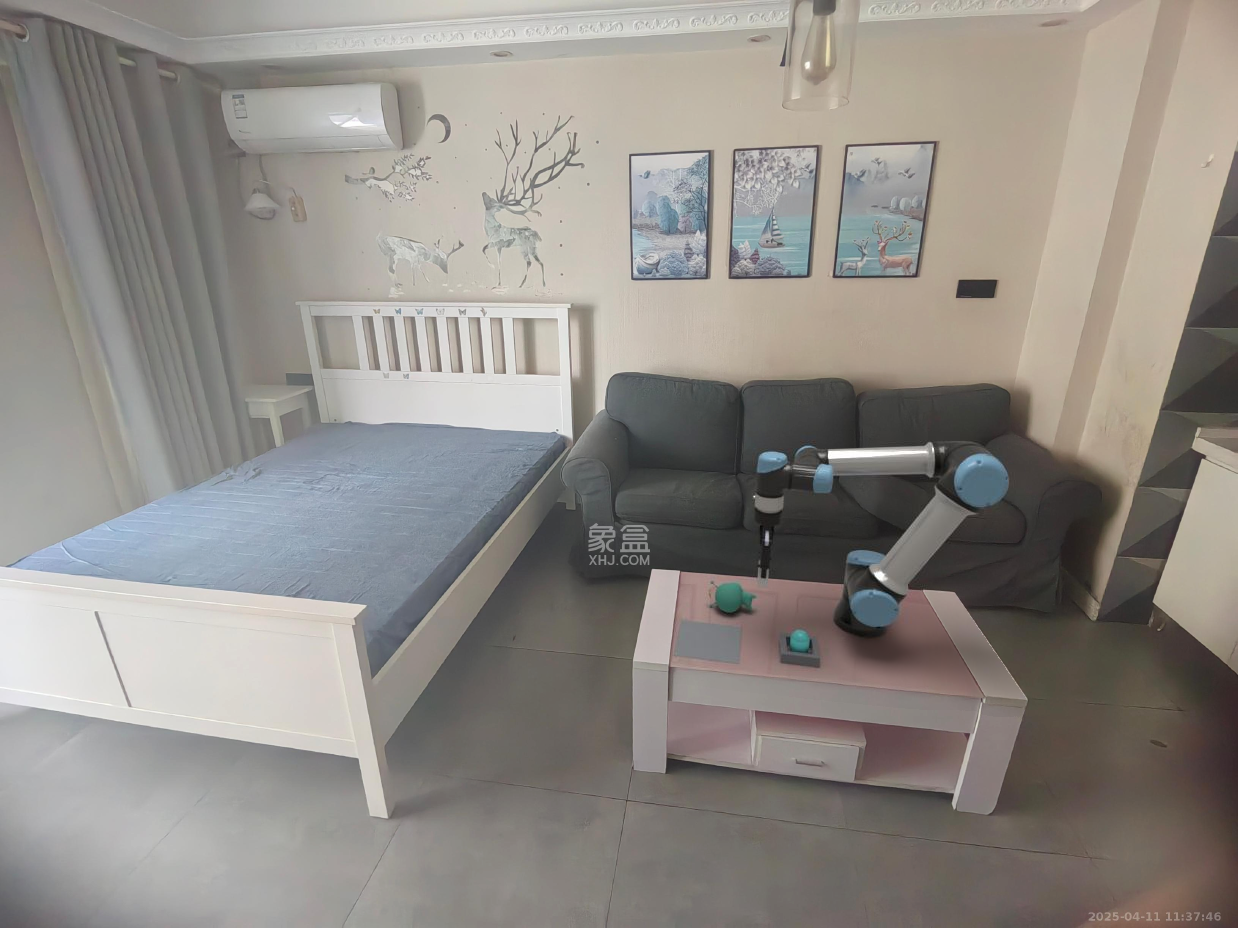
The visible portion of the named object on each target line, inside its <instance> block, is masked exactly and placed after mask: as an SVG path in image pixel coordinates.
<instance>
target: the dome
mask: <svg viewBox="0 0 1238 928" xmlns="http://www.w3.org/2000/svg"><path fill="white" fill-rule="evenodd" d="M790 634H791V640H790V646H789V652H798V653H806V654H809V649H810V648H809V641H810V638H809V636H810V635H809V634H808V633H807V632H806V631H805V630H802V629H796V630H794V631H793V633H790Z"/></svg>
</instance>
